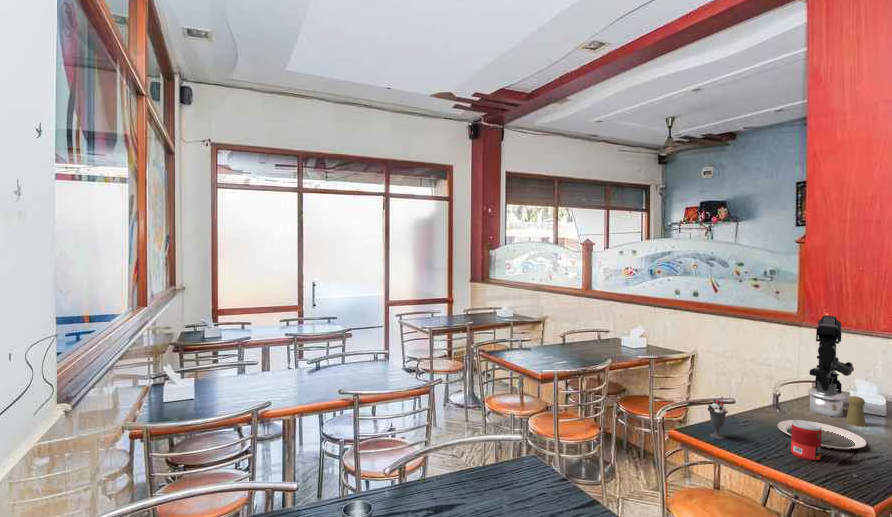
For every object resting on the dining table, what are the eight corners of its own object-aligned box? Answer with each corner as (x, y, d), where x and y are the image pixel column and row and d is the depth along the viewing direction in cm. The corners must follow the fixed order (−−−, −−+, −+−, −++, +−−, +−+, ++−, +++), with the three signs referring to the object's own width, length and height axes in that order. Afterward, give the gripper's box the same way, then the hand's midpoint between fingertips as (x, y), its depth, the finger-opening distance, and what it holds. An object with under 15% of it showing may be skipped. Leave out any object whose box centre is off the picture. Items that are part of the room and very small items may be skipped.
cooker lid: (815, 389, 205) (815, 377, 205) (850, 397, 194) (851, 384, 194) (802, 393, 198) (803, 381, 198) (838, 402, 188) (839, 389, 188)
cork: (870, 426, 181) (870, 399, 180) (854, 426, 181) (855, 399, 180) (856, 421, 187) (857, 394, 186) (841, 420, 187) (842, 394, 186)
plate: (773, 438, 169) (773, 433, 169) (782, 420, 188) (782, 415, 188) (866, 460, 152) (866, 454, 152) (866, 437, 170) (866, 432, 170)
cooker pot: (815, 406, 204) (816, 391, 204) (846, 414, 195) (847, 398, 194) (805, 410, 198) (805, 395, 198) (836, 418, 189) (837, 403, 189)
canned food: (822, 463, 149) (823, 430, 149) (792, 457, 153) (793, 425, 153) (818, 454, 155) (819, 422, 155) (789, 449, 160) (790, 418, 159)
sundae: (729, 436, 170) (730, 397, 170) (725, 442, 165) (726, 401, 165) (709, 431, 174) (710, 393, 174) (704, 436, 169) (705, 397, 169)
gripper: (842, 361, 184) (841, 399, 185) (859, 355, 194) (858, 391, 194) (809, 355, 194) (808, 391, 194) (827, 350, 203) (826, 385, 204)
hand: (826, 390), depth 196 cm, fingers closed on cooker lid, 2 cm apart
